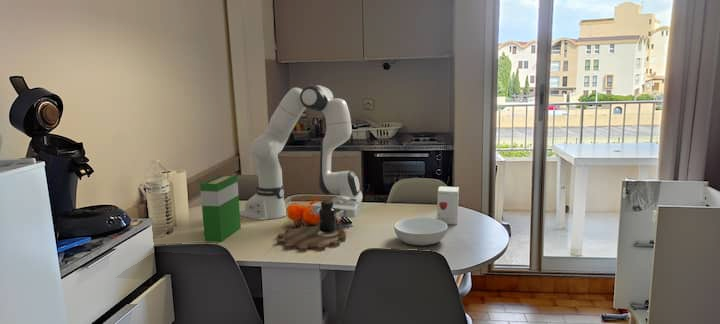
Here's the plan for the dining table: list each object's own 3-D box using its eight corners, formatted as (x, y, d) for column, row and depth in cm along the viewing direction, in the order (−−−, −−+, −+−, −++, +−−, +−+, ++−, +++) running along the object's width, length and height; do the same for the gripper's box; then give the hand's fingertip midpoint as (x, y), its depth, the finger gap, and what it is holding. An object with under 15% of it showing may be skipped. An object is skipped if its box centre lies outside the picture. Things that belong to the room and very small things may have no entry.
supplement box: (436, 223, 216) (436, 190, 213) (438, 217, 225) (438, 185, 222) (457, 224, 214) (458, 191, 211) (458, 218, 223) (459, 186, 220)
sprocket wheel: (263, 246, 193) (263, 242, 192) (299, 225, 218) (299, 221, 217) (326, 255, 182) (326, 251, 181) (356, 232, 207) (356, 228, 206)
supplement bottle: (316, 231, 200) (315, 203, 198) (325, 226, 206) (324, 199, 204) (330, 233, 197) (329, 204, 195) (339, 228, 203) (338, 200, 201)
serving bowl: (412, 229, 209) (412, 214, 208) (456, 239, 196) (457, 223, 195) (383, 243, 194) (383, 226, 192) (429, 255, 181) (429, 237, 179)
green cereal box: (225, 227, 217) (221, 174, 212) (240, 228, 215) (237, 174, 211) (204, 241, 200) (200, 183, 195) (221, 242, 198) (217, 184, 194)
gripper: (319, 196, 216) (303, 204, 203) (362, 200, 208) (348, 209, 195) (320, 210, 217) (304, 219, 204) (362, 215, 209) (349, 224, 196)
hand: (326, 214), depth 200 cm, fingers closed on supplement bottle, 7 cm apart
